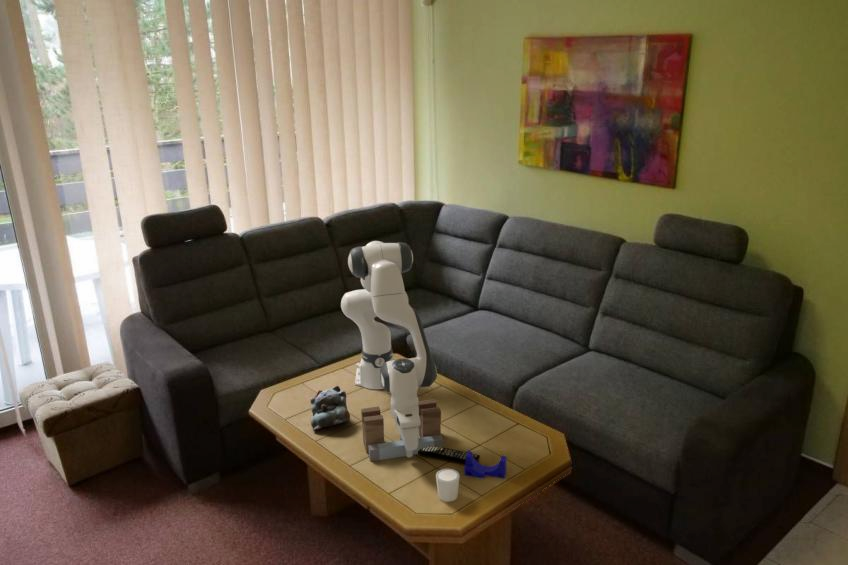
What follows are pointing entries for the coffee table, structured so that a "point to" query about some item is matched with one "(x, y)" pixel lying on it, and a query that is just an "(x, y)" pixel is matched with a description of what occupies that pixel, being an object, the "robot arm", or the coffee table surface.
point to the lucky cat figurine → (329, 408)
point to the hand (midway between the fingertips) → (406, 447)
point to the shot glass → (447, 484)
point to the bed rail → (401, 448)
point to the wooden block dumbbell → (375, 423)
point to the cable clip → (484, 467)
